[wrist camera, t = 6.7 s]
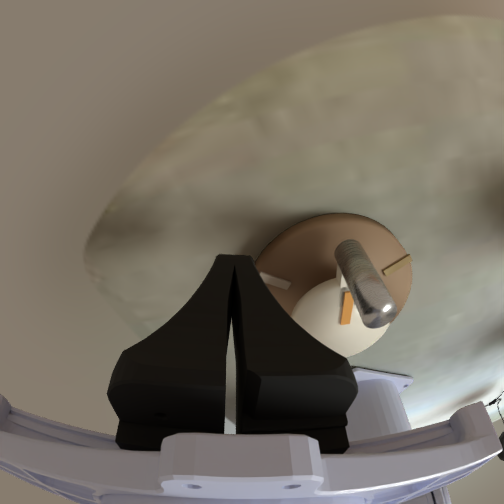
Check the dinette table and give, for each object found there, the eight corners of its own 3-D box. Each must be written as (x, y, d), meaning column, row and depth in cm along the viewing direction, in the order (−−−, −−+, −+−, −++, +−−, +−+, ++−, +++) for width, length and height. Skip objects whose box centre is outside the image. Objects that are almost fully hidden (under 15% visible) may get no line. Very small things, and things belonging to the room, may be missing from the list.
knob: (377, 342, 18) (398, 397, 14) (290, 354, 18) (299, 416, 14) (402, 234, 14) (445, 290, 10) (289, 244, 14) (306, 310, 10)
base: (346, 354, 22) (353, 376, 20) (222, 320, 20) (221, 346, 18) (431, 252, 17) (448, 272, 16) (299, 182, 15) (308, 200, 13)
